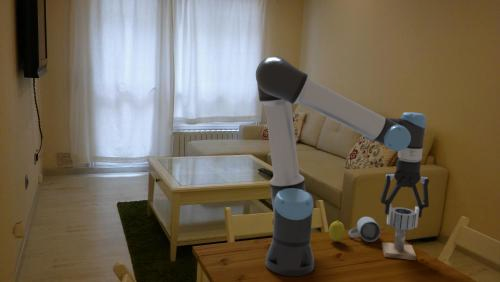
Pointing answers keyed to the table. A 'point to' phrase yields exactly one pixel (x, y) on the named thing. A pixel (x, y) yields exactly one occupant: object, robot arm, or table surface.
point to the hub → (402, 218)
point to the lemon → (336, 231)
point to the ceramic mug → (366, 229)
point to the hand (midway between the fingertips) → (401, 224)
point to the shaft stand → (399, 247)
